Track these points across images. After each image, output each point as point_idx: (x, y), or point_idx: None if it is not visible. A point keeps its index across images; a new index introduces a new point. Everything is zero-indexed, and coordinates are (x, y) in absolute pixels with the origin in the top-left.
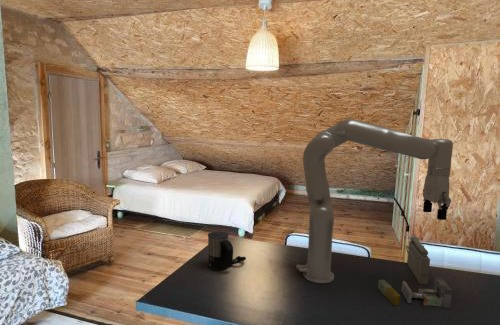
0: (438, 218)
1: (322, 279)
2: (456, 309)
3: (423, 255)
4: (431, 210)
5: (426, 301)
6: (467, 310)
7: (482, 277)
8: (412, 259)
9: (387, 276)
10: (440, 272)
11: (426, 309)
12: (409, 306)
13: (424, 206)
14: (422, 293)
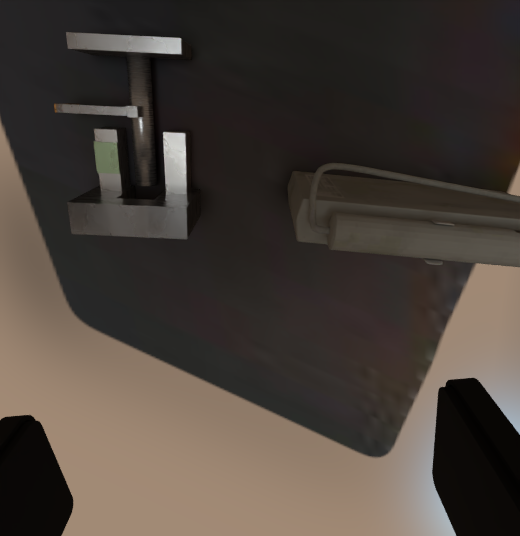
0: (2, 436)
1: None
2: None
3: (314, 212)
4: (445, 503)
5: (108, 128)
6: (110, 265)
7: (364, 421)
8: (447, 196)
9: (353, 25)
10: (402, 301)
11: None
12: None
13: (505, 470)
14: (91, 108)
